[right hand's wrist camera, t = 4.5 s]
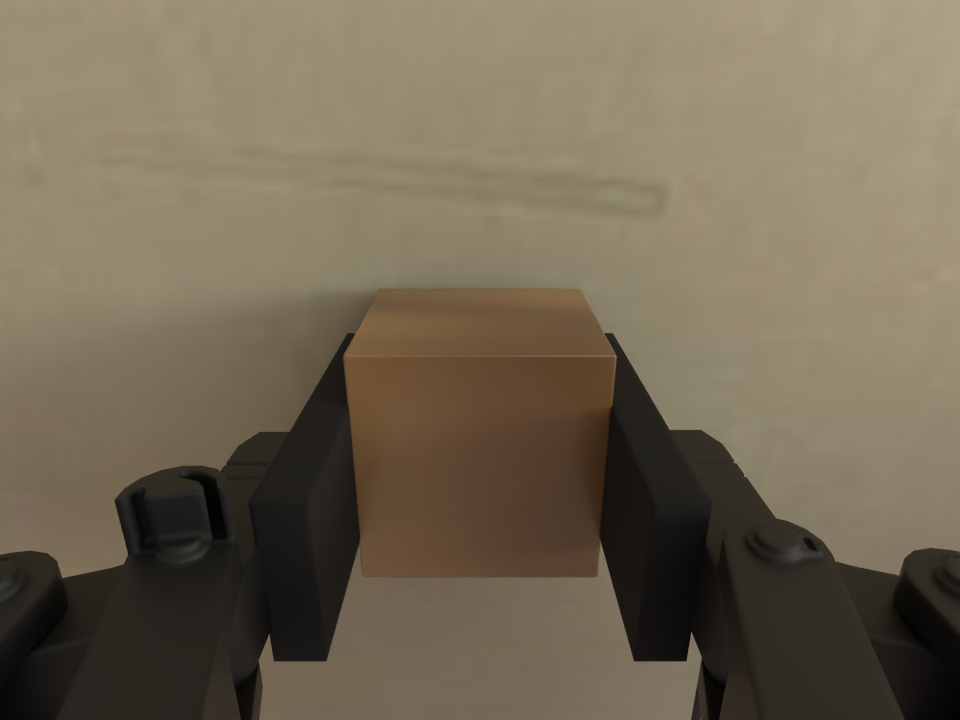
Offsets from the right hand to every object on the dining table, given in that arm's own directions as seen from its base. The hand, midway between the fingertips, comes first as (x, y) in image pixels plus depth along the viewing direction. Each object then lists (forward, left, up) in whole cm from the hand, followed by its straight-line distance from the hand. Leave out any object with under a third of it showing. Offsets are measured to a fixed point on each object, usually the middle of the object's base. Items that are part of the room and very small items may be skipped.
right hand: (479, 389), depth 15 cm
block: (0, 0, 0) cm, 0 cm away
